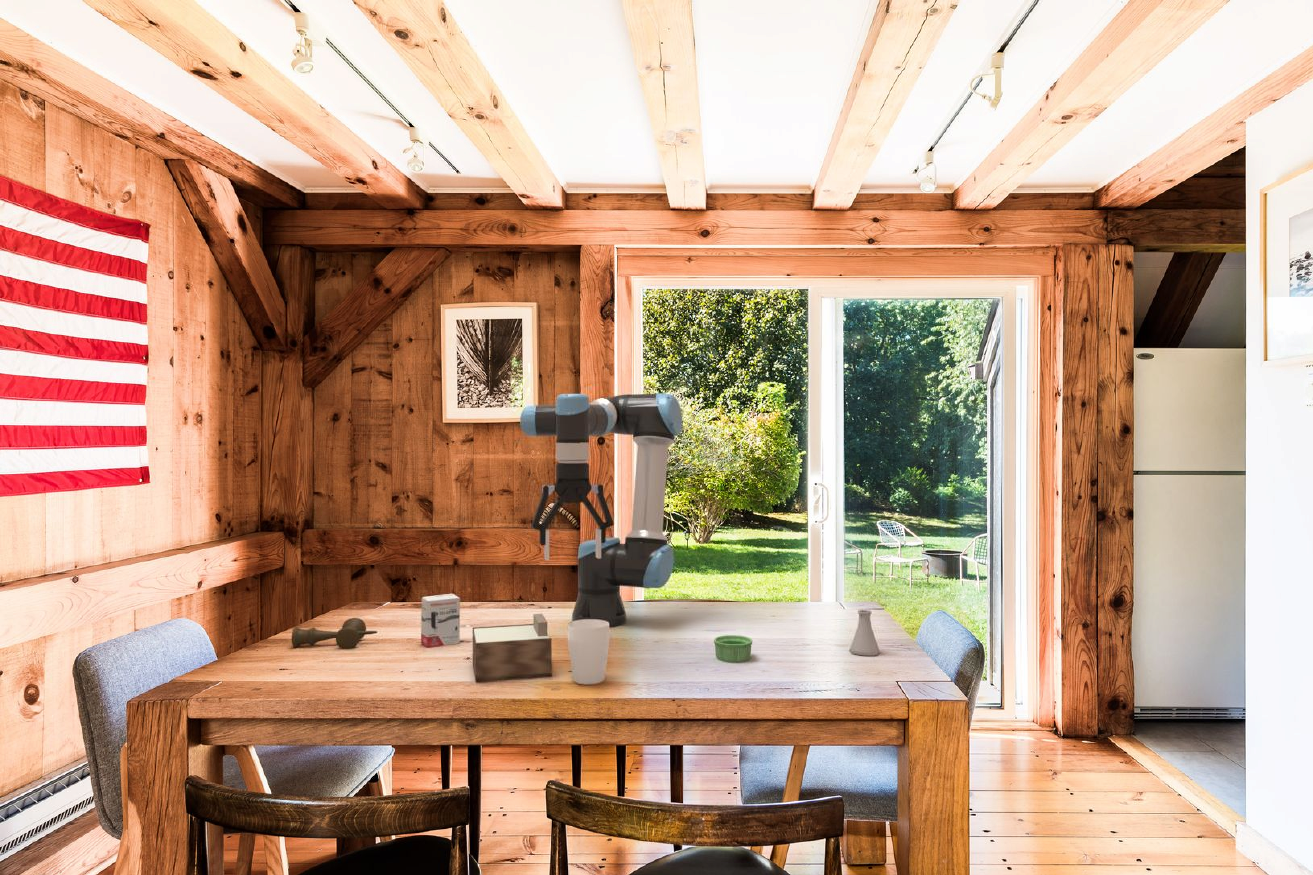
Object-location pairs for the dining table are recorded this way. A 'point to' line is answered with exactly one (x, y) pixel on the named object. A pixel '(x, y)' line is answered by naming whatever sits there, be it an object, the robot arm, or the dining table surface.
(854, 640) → the flask
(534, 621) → the lid
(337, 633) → the kendama
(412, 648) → the dining table surface
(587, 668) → the cup
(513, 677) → the box
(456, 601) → the ink box
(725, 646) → the ramekin
